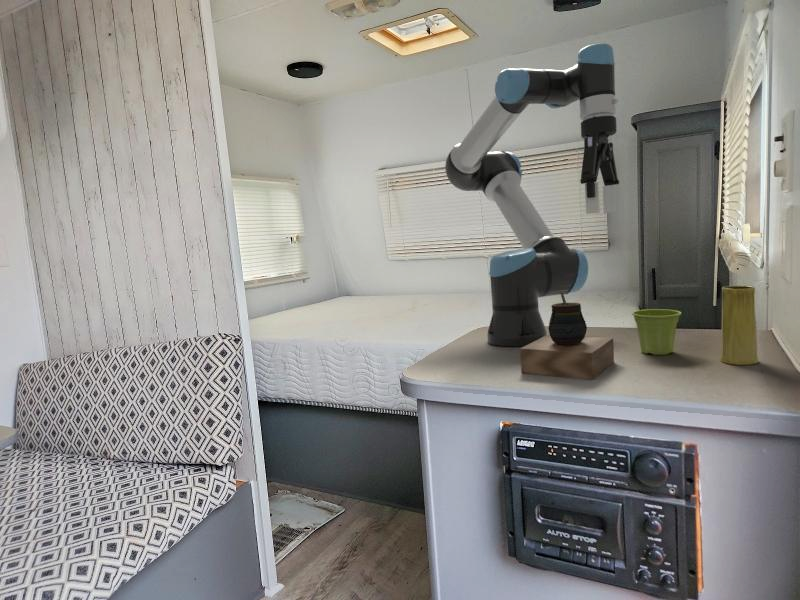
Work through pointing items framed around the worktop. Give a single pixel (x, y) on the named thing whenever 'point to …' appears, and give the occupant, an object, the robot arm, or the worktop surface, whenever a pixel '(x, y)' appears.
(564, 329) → the mate gourd
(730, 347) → the vase
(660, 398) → the worktop surface
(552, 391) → the worktop surface
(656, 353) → the plant pot
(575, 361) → the walnut block
